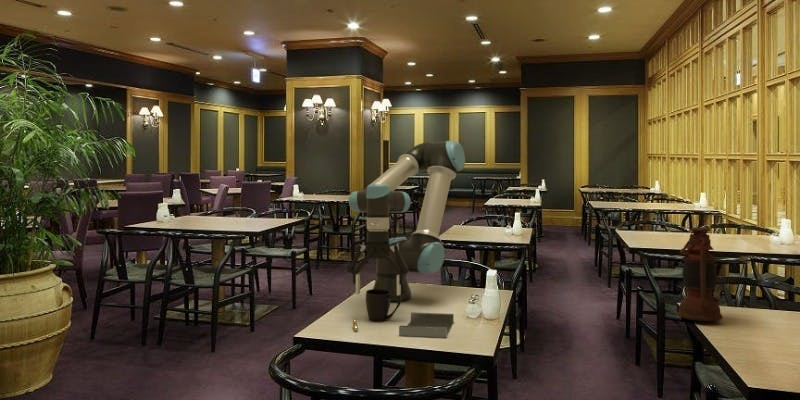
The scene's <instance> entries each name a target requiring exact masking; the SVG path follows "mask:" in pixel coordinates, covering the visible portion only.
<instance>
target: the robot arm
mask: <svg viewBox="0 0 800 400" xmlns="http://www.w3.org/2000/svg"><path fill="white" fill-rule="evenodd" d="M465 155H466V154H465V151H464V148H463V147H462V145H461V144H460V142H458V141H455V140H446V141H430V142H421V143H419V144H417V145H415V146H413V147H411V148H409V149H408V150H406V151H405V152H404V153H402V154H401V155H399V157H398V158H397V162H395V163H394V164H393V165H391V166H390V167H389V168H388V169H387V170H385V172H383V173H382V174H381V175H380V176H379V177H378V178H376V179H375V180H374V181H372V183H370V184H368V185H367V187H366V188H364V189H362V190H357V191H353V192H351V193H350V195H349V197H348V206H349V208H350V210H351V211H353V212H355V213H366V230H368V231H367V232H366V245H363V244H358V245H356V252H355V254H354V256H353V258H352V260H351V262H350V263H349V266H348V267H347V273H350V274H352V283H353V285H355V295H359V294H361V273H359V272H360V271H361V270H362V269H363V267H364V266H365V265H366V264H367V263H368V261H370V260H371V259H373V260H375V263H376V264H375V265H376V266H375V268H376V269H375V272H376V275H375V281H374V284H373V287H372V289H384V290H388V291H390V292H391V296H392V295H397V296H400V297H401V302H402V301H407V300H409V299H411V298H412V291H411V287H410V284H409V282H408V279H407V278H408V277H407V274H408V273H414V274H415V273H416V274H422V275H426V274H432V275H433V274H435V273H437V272H438V271H439V270H440V269H441V268H442V266H443V264H444V260H445V256H446V255H445V247H444V245H443V243H442V240H441V238H440V237H439V236H440V231H441V227H442V223H443V217H444V213H445V208H446V204H447V199H448V194H449V192H450V186H451V183H452V180H454V179H456V177H457V173H458V172H460V171H462V170H463V169H464V168H465V165H466V156H465ZM421 172H422V173H423V172H427V174H428V175H429V176H428V177H429V178H428V181H427V185H426V188H425V194H424V197H423V201H422V206H421V211H420V213H419V214H420V215H419V218H418V222H417V226H416V230H415V231H414V232H412V233H411V235H410V239H409V240H407V237H406V236H401V237H399V236H398V237H392V238H390V231H389V230H390V213H391V214H393V213H394V214H395V213H396V214H401V213H405V212H407V211H408V210H409V209H410V206H411V203H412V202H411V201H412V200H411V197H410V196H409V194H408V193H407V192H404V191H401V190H396V189H397V188H398V187H400V186H401V185H402V184H404V182H405V181H407V180H408V178H410V177H414V176H415V175H417V174H418V173H421ZM364 250H365V251H366V252H367V254H366V255H365V256H364V258H363V259H362V260H361V261H360V263H359V264H358V265H357V263H358V261H359V258H360V256H361V254H362V252H364ZM356 265H357V266H356ZM354 268H355V269H354ZM398 301H399V299H398V298H397V297H392V298H391V299H390V302H398Z"/></svg>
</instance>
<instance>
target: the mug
mask: <svg viewBox="0 0 800 400" xmlns="http://www.w3.org/2000/svg"><path fill="white" fill-rule="evenodd" d="M365 291H366V292H365V306H366V311H367V312H366V313H367V316H368V320H369V321H370V322H373V323H375V322H376V323H380V322H381V323H382V322H385V321H388V320H390V319H391V318H392V317H393V315H394V314H395V313H396V311H397V310H398V308H399V307H400V305H401V303H402V301H401V297H400V296H397V295H392V296H391V292H390V291H388V290H384V289H373V288H372V289H368V290H365ZM392 297H397V298H398V299H399V301H397V305H396V307H395V308H394V309H393V311H392V312H391V313H390V314H389V310H390V307H391V301H390V299H391V298H392Z"/></svg>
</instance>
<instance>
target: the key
mask: <svg viewBox="0 0 800 400" xmlns="http://www.w3.org/2000/svg"><path fill="white" fill-rule="evenodd" d="M352 328H353V331H354V333H357V332H358V331H359V328H358V323H357V318H354V319H352Z"/></svg>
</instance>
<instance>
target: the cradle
mask: <svg viewBox="0 0 800 400" xmlns="http://www.w3.org/2000/svg"><path fill="white" fill-rule="evenodd" d="M454 315H455V314H454V313H439V312H411V313H410V321H409V322H408V323H407V324H406V325H399V326H398V336H399V337H411V338H412V337H414V338H417V337H418V338H434V339H435V338H436V339H447V337H448V335H449V333H450V331H451V329H452V327H453V325H454V323H455V322H454V321H455V320H454V319H455V318H454V317H455V316H454Z"/></svg>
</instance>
